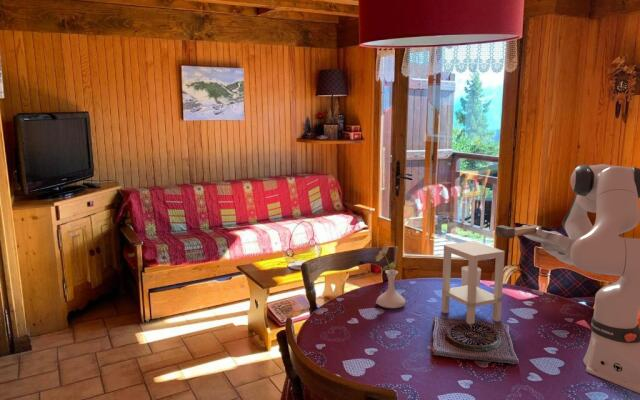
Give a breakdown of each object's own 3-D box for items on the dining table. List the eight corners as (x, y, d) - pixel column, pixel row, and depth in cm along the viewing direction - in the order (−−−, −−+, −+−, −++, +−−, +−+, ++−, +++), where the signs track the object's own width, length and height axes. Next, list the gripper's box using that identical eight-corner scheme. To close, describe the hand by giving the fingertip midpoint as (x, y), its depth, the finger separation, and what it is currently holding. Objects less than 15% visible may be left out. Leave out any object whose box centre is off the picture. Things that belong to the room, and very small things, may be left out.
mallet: (544, 233, 189) (544, 224, 189) (507, 238, 182) (507, 229, 181) (531, 230, 195) (532, 221, 194) (495, 235, 187) (495, 226, 187)
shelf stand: (500, 320, 180) (504, 251, 176) (469, 327, 174) (473, 255, 170) (470, 305, 194) (473, 241, 190) (441, 311, 189) (443, 245, 184)
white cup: (482, 294, 206) (483, 271, 205) (463, 294, 206) (464, 271, 205) (476, 288, 214) (477, 265, 212) (458, 288, 214) (459, 265, 213)
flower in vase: (391, 298, 203) (393, 238, 198) (411, 306, 193) (413, 244, 189) (367, 305, 195) (367, 243, 191) (386, 314, 186) (387, 249, 182)
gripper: (535, 230, 206) (514, 216, 200) (578, 241, 188) (557, 226, 182) (529, 243, 206) (508, 230, 200) (571, 256, 187) (550, 241, 181)
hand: (531, 228), depth 191 cm, fingers closed on mallet, 3 cm apart
